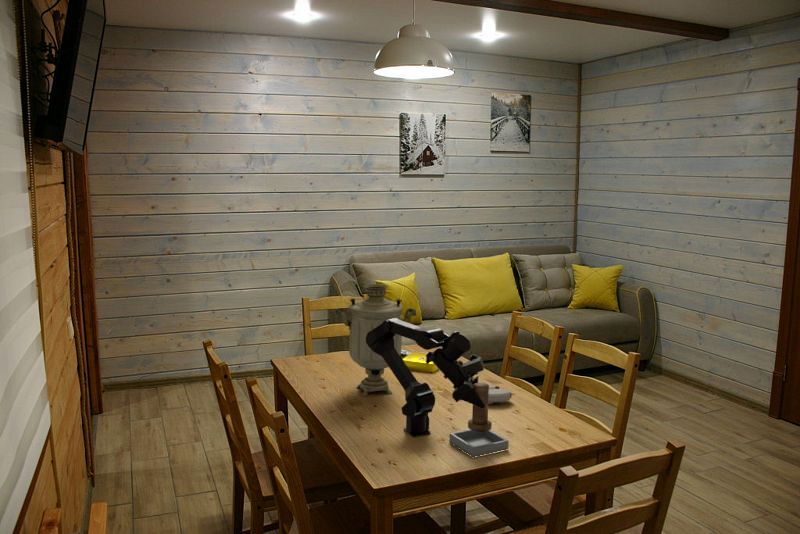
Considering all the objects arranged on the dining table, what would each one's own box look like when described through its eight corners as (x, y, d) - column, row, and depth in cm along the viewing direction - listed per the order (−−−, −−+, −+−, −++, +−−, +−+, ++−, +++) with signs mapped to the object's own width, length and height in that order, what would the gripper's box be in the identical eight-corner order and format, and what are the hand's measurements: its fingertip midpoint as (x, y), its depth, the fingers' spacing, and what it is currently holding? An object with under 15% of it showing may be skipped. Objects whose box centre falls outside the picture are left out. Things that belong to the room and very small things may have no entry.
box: (473, 458, 192) (473, 448, 192) (449, 442, 203) (449, 433, 203) (508, 450, 198) (508, 440, 197) (483, 435, 209) (483, 426, 208)
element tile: (445, 364, 288) (445, 353, 288) (433, 373, 275) (433, 362, 274) (413, 360, 294) (413, 350, 293) (400, 369, 280) (400, 358, 280)
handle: (477, 433, 195) (478, 390, 194) (463, 425, 201) (464, 383, 200) (496, 429, 199) (497, 386, 197) (482, 421, 205) (483, 380, 203)
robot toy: (468, 396, 248) (484, 407, 234) (468, 384, 248) (484, 394, 234) (499, 394, 252) (516, 404, 237) (499, 382, 251) (516, 392, 237)
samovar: (418, 379, 265) (419, 280, 260) (412, 401, 240) (414, 291, 234) (344, 376, 268) (344, 278, 263) (331, 397, 242) (330, 289, 237)
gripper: (464, 356, 189) (502, 397, 188) (472, 341, 207) (507, 378, 206) (436, 381, 191) (474, 422, 191) (446, 364, 209) (480, 400, 209)
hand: (485, 404), depth 199 cm, fingers closed on handle, 5 cm apart
